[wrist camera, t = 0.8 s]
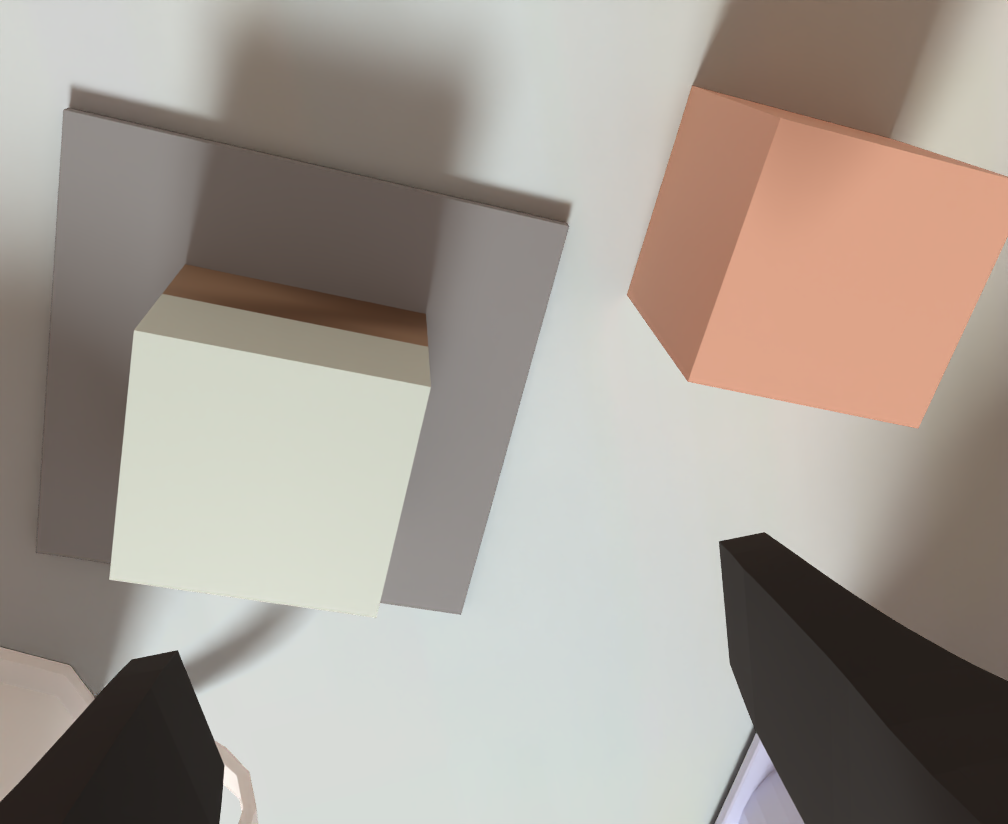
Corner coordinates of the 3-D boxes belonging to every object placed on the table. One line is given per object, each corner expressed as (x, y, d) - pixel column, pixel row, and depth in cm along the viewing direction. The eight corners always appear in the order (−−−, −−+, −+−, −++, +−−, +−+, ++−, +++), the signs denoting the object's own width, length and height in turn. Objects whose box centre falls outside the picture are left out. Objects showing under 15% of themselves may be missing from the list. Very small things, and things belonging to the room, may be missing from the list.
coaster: (566, 222, 20) (569, 226, 20) (460, 607, 24) (461, 614, 23) (68, 107, 18) (64, 109, 18) (40, 545, 22) (36, 552, 22)
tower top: (428, 346, 18) (430, 387, 16) (378, 561, 20) (376, 617, 18) (162, 293, 17) (134, 330, 15) (137, 523, 19) (109, 579, 17)
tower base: (425, 314, 20) (428, 346, 18) (380, 512, 22) (378, 561, 20) (185, 264, 19) (162, 293, 17) (159, 476, 21) (136, 523, 19)
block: (889, 138, 20) (1031, 184, 15) (810, 334, 22) (918, 428, 17) (691, 85, 19) (780, 118, 14) (626, 293, 21) (688, 381, 16)
